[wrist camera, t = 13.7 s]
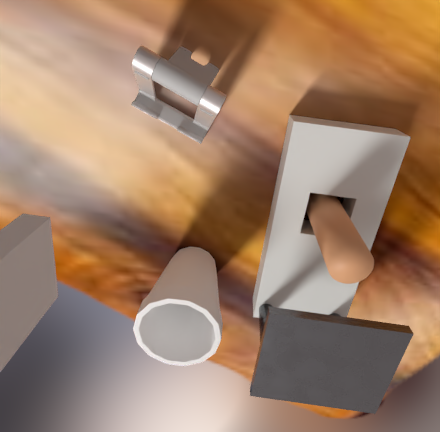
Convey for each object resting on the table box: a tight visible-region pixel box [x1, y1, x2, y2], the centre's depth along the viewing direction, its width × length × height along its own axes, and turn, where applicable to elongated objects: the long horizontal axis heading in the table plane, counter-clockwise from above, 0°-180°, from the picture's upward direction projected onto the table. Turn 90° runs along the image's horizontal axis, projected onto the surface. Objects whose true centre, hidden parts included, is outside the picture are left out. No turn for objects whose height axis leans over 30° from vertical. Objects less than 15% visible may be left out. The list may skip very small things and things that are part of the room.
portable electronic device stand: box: [131, 46, 227, 144], centre depth 36 cm, size 9×8×8 cm
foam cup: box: [133, 247, 223, 366], centre depth 43 cm, size 10×9×13 cm
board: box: [253, 115, 411, 318], centre depth 43 cm, size 26×12×4 cm, turn 173°
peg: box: [306, 193, 374, 284], centre depth 38 cm, size 4×4×14 cm
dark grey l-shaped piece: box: [250, 304, 413, 414], centre depth 39 cm, size 11×13×12 cm
